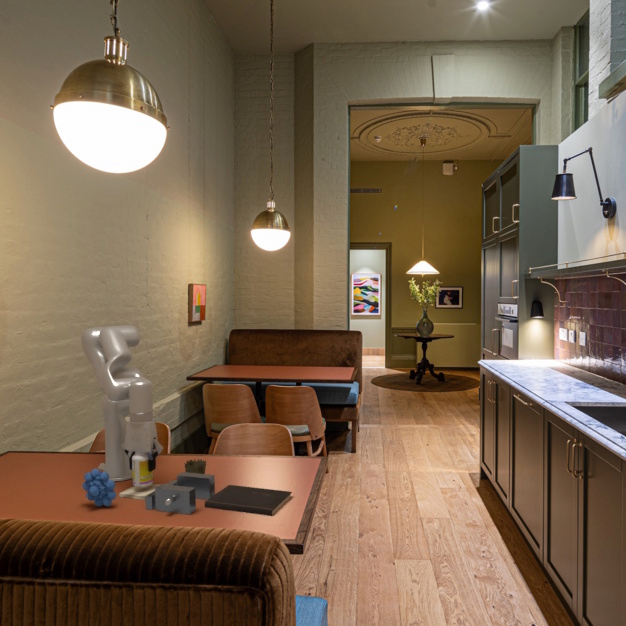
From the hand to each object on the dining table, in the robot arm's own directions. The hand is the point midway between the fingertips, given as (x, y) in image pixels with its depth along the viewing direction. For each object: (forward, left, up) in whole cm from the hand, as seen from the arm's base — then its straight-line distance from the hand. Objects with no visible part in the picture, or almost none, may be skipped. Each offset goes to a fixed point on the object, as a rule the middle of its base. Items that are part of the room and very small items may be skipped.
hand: (142, 469), depth 180 cm
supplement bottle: (0, 0, -5) cm, 5 cm away
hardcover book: (+38, +2, -9) cm, 39 cm away
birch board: (0, 0, -8) cm, 8 cm away
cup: (+13, +12, -8) cm, 20 cm away
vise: (+17, -6, -8) cm, 20 cm away
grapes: (-6, -15, -8) cm, 18 cm away
